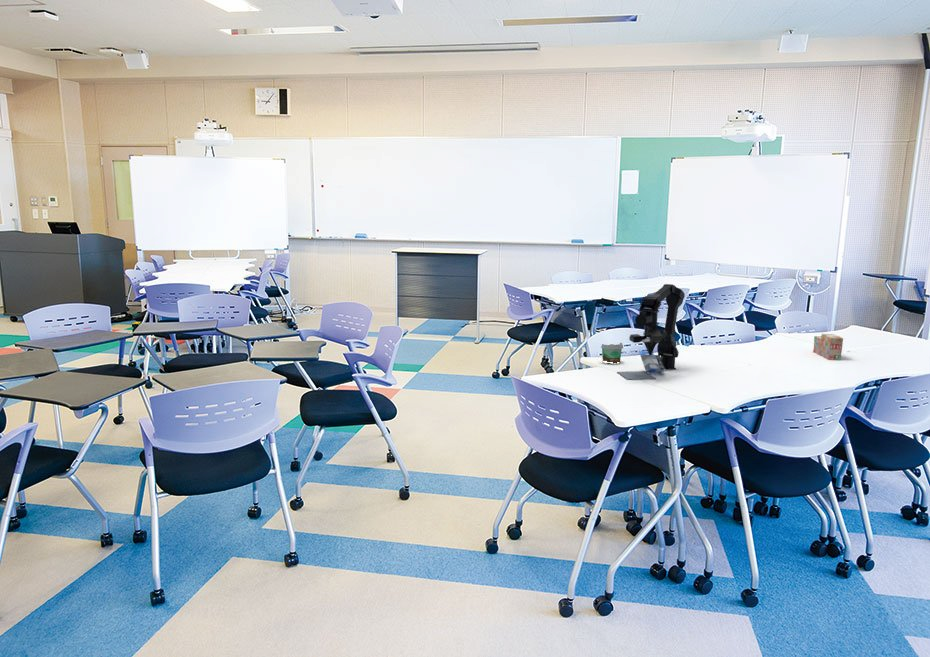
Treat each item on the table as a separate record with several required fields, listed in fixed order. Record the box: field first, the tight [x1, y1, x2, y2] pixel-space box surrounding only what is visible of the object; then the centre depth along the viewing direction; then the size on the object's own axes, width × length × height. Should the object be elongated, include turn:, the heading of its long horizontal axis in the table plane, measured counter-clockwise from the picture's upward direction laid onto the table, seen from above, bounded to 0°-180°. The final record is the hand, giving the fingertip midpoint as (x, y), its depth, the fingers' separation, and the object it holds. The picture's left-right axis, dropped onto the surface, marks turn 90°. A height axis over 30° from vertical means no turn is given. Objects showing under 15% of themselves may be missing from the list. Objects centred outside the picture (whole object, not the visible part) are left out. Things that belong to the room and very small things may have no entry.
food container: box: [600, 342, 624, 363], centre depth 331 cm, size 12×6×10 cm, turn 112°
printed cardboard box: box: [812, 333, 844, 361], centre depth 351 cm, size 21×6×12 cm, turn 172°
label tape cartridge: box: [638, 350, 666, 375], centre depth 310 cm, size 9×4×12 cm
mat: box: [616, 370, 657, 381], centre depth 305 cm, size 14×14×1 cm
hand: (650, 355), depth 305 cm, fingers closed
